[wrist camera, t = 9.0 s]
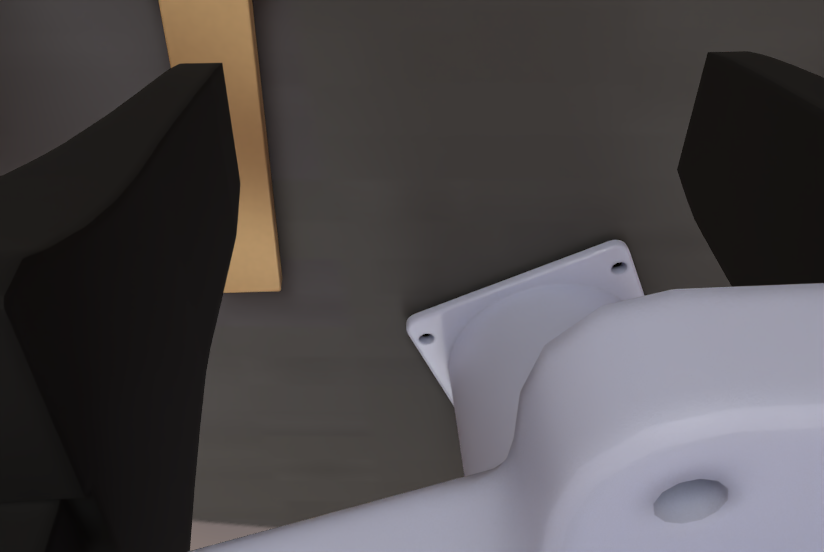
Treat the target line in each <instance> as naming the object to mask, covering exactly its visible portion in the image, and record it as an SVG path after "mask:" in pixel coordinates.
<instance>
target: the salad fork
mask: <svg viewBox="0 0 824 552" xmlns="http://www.w3.org/2000/svg"><path fill="white" fill-rule="evenodd" d="M158 1H159V7H160V12H161V18H162V23H163V28H164V34H165V39H166V44H167V50H168V55H169V61H170V66H171V68H172V67H174V66H176V65H178V64H183V63H222V64H223V71H224V77H225V84H226V91H227V97H228V104H229V110H230V117H231V124H232V130H233V137H234V143H235V150H236V156H237V163H238V170H239V176H240V198H239V212H238V224H237V235H236V240H235V244H234V249H233V253H232V258H231V262H230V266H229V271H228V275H227V279H226V284H225V288H224V292H223V293H237V292H269V291H280V290H281V284H282V270H281V261H280V252H279V243H278V233H277V224H276V215H275V206H274V197H273V188H272V178H271V169H270V160H269V151H268V142H267V133H266V123H265V114H264V105H263V96H262V87H261V78H260V68H259V59H258V50H257V41H256V32H255V23H254V13H253V4H252V0H158Z"/></svg>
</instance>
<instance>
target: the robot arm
mask: <svg viewBox="0 0 824 552" xmlns="http://www.w3.org/2000/svg"><path fill="white" fill-rule="evenodd" d="M677 170H678V173H679V177H680V180H681V183H682V186H683V189H684V192H685V195H686V198H687V201H688V203H689V206H690V208H691V211H692V214H693V216H694V219H695V221H696V223H697V225H698V227H699V229H700V230H701V232H702V234H703V236H704V238H705V239H706V241H707V243H708V245H709V247H710V248H711V250H712V252H713V254H714V256H715V258H716V259H717V261H718V263H719V264H720V266H721V268H722V270H723V271H724V273H725V275H726V277H727V278H728V280H729V282H730V284H731V285H732V287H714V288H689V289H672V290H667V291H663V292H658V293H654V294H650V295H646V296H644V293H643V290H642V287H641V284H640V281H639V278H638V275H637V272H636V269H635V266H634V263H633V260H632V257H631V254H630V251H629V249H628V247H627V245H626V244H625V242H623V241H621V240H611V241H607V242H605V243H602V244H599V245H597V246H594V247H591V248H589V249H586V250H583V251H581V252H578V253H575V254H573V255H570V256H567V257H565V258H562V259H559V260H557V261H554V262H551V263H549V264H546V265H543V266H541V267H538V268H535V269H533V270H530V271H527V272H525V273H522V274H519V275H517V276H514V277H511V278H509V279H506V280H503V281H501V282H498V283H495V284H493V285H490V286H487V287H485V288H482V289H479V290H477V291H474V292H471V293H469V294H466V295H463V296H461V297H458V298H455V299H453V300H450V301H447V302H445V303H442V304H439V305H437V306H434V307H431V308H429V309H426V310H423V311H421V312H418V313H415V314H413V315H411V316H410V317H409V318H408V319H407V322H406V329H407V333H408V335H409V336H410V338H411V340H412V341H413V343H414V344H415V346H416V347H417V349H418V351H419V352H420V354H421V355H422V357H423V359H424V360H425V362H426V363H427V365H428V366H429V368H430V370H431V371H432V373H433V374H434V376H435V377H436V379H437V381H438V382H439V384H440V385H441V387H442V388H443V390H444V392H445V393H446V395H447V396H448V398H449V400H450V401H451V403H452V404H453V406H454V409H455V416H456V422H457V429H458V436H459V443H460V449H461V456H462V463H463V470H464V477H461V478H457V479H453V480H450V481H446V482H442V483H439V484H435V485H431V486H428V487H424V488H420V489H416V490H413V491H409V492H405V493H402V494H398V495H394V496H391V497H387V498H383V499H380V500H376V501H372V502H369V503H365V504H361V505H358V506H354V507H350V508H347V509H343V510H339V511H336V512H332V513H328V514H325V515H321V516H317V517H314V518H310V519H306V520H303V521H299V522H295V523H291V524H288V525H284V526H280V527H277V528H273V529H269V530H266V531H262V532H259V533H255V534H252V535H247V536H244V537H241V538H237V539H233V540H229V541H225V542H222V543H218V544H215V545H211V546H207V547H203V548H200V549H196V550H192V551H190V540H191V527H192V514H193V501H194V487H195V476H196V465H197V454H198V443H199V432H200V422H201V413H202V404H203V395H204V385H205V376H206V369H207V364H208V358H209V352H210V347H211V343H212V338H213V334H214V330H215V326H216V322H217V317H218V313H219V309H220V305H221V300H222V296H223V292H224V288H225V284H226V279H227V275H228V271H229V266H230V262H231V258H232V253H233V249H234V244H235V240H236V235H237V224H238V212H239V198H240V176H239V170H238V163H237V156H236V150H235V143H234V137H233V130H232V124H231V117H230V110H229V104H228V97H227V91H226V84H225V77H224V71H223V64H222V63H183V64H178V65H176V66H174V67H172V68H171V69H169V70H168V71H166V72H165V73H163V74H162V75H161V76H159V77H158V78H157V79H155V80H154V81H153V82H151V83H150V84H149V85H147V86H146V87H145V88H143V89H142V90H141V91H139V92H138V93H137V94H135V95H134V96H133V97H131V98H130V99H129V100H127V101H126V102H125V103H123V104H122V105H120V106H119V107H118V108H116V109H115V110H114V111H112V112H111V113H110V114H108V115H107V116H105V117H104V118H102V119H101V120H99V121H97V122H96V123H94V124H93V125H91V126H90V127H88V128H87V129H85V130H84V131H82V132H81V133H79V134H78V135H76V136H75V137H73V138H72V139H70V140H69V141H67V142H65V143H64V144H62V145H60V146H59V147H57V148H55V149H54V150H52V151H50V152H48V153H46V154H45V155H43V156H41V157H39V158H37V159H35V160H33V161H31V162H29V163H27V164H25V165H23V166H21V167H19V168H17V169H15V170H13V171H11V172H9V173H7V174H5V175H3V176H0V552H824V78H823V77H821V76H818V75H816V74H813V73H811V72H808V71H806V70H804V69H801V68H799V67H796V66H794V65H791V64H788V63H786V62H783V61H780V60H777V59H774V58H771V57H768V56H765V55H761V54H757V53H753V52H708V54H707V58H706V62H705V65H704V69H703V73H702V77H701V81H700V85H699V88H698V92H697V96H696V100H695V104H694V108H693V111H692V115H691V119H690V123H689V127H688V130H687V134H686V138H685V142H684V146H683V150H682V153H681V157H680V161H679V165H678V169H677ZM620 262H622V264H621V265H620V266H618V267H613V265H615V264H616V263H620ZM423 334H431V335H430V336H426V337H424V336H422V335H423Z"/></svg>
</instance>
